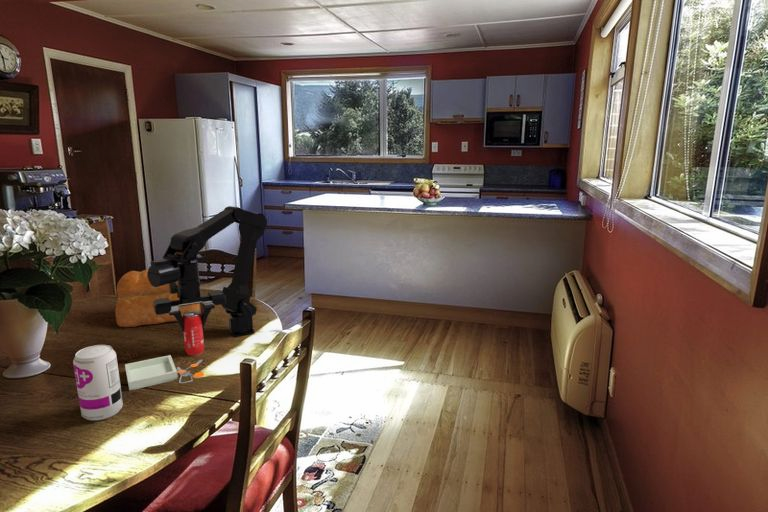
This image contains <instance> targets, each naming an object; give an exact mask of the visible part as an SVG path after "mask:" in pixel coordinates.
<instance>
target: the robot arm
mask: <svg viewBox="0 0 768 512" xmlns="http://www.w3.org/2000/svg"><path fill="white" fill-rule="evenodd" d="M267 219H268V218H266V216H265V214H264V213H262V212H254V211H248V210H245V209H242V208H241V207H239V206H231V205H230V206H227V207H225V208H224V209H222V211H220V212H218V213H217V214H215V215H213V216H212V217H210V218H209V219H207V220H206V221H204V222H202V223H201V224H199V225H197V226H196V227H192V228H190V229H189V228H188V229H185V230H181V231H180V232H177V233H174V234H173V235H172V237H170V242H169V245H168V246H167V248H166V250H165V252H164V254H163V256H162V259H160V260H151V261H150V266H149V267H148V273H147V277H148V280H149V282H150V284H151V285H152V286H154V287H159V286H163V285H166V284H169V289H170V294H176V293H177V297H178V298H179V300H174V301H170V300H169V299H168V298H162V299H155V300H154V302H153V307H154V311H155V313H156V314H157V315H160V314H166V313H169V315H174V316H175V318H176V319H177V321H176V322H177V323H178V325H179V327H180V330H181V331H182V333H183V332H184V324H183V320H182V315H181V312H180V310H179V307H180V306H186V305H193V304H200V314H201V317H202V328H203V329H204V327H205V325H206V322H207V320H208V317H209V315H210V313H211V312H212V311H211V310H212V309H215V308H216V306H220V305H221V306H222V308H223V309H224V310H225V313H226V314H229V316H230V318H229V319H228V329H229V332H230V334H232V335H233V337H235V338H236V337H241V336H246V335H251V334H255V333H256V331H255V330H254V325H253V324H254V323H253V320H254V319H253V317H254V316H256V313H257V310H258V309H257V306H255V305H254V304H253V303H251V302H250V301H251V293H250V289H249V287H248V284H249V281H250V275H251V272H252V271H251V270H252V266H253V261H254V257H255V253H256V246H257V243H258V241H259V239H261V237H262V236H263V235H264V234H265V231H266V228H267V225H268V220H267ZM234 223H237V224H238V232H239V235H240V242H239V247H238V251H237V254H236V256H237V257H236V261H235V265H234V269H233V275H232V278H231V282H230V284H229V285H228V286H227V287H226V286H224V287H223V288H222V290H220V289H217V290H210V291H207V295H202V294H201V284H200V273H199V272H200V271H199V262H200V261H204V260H205V257H204V256H202V255H201V254H200V252H201V250H203V249H204V247H205V246H206V245H207V242H208V241H209V240H210V239H212V238H213V237H215V236H216V235H218V234H219V233H220V232H222V231H223V230H225V229H227V227H229V226H231V225H233V224H234ZM176 281H177V282H178V285H177V283H176ZM174 282H175V283H174Z"/></svg>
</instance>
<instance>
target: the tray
mask: <svg viewBox="0 0 768 512" xmlns="http://www.w3.org/2000/svg"><path fill="white" fill-rule="evenodd" d="M124 367H125V374H126V379H127V384H128V390H129V391H133V390H138V389H142V388H145V387H151V386H156V385H159V384H163V383H169V382H173V381H176V380H179V378H178V377H179V376H178V373H177V372H178V370H177V367H176V365H175V363H174V360H173V358H172V356H171V354H169V355H164V356H159V357H154V358H149V359H144V360H140V361H135V362H129V363H124Z"/></svg>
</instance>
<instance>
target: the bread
mask: <svg viewBox="0 0 768 512" xmlns="http://www.w3.org/2000/svg"><path fill="white" fill-rule="evenodd" d="M148 269H149V268H148ZM148 269H143V270H142V271H136V270H130V271H128V272H126V273H125V274H123V276H121V278H120V279H119V281H118V282H117V286H116V293H117V295H118V297H117V300H116V304H115V320H116V321H115V322H116V324H117V326H118V327H121V328H133V327H134V328H135V327H141V326H143V325H144V326H146V325H149V326H150V325H158V324H163V323H170V322H178V321H177V319H176V318H175V316H174V315H169V313H166V314H160V315H157V314H156V313H155V311H154V307H153V302H154V300H155V299H162V298H168V299H169V300H170V301H174V300H179V298H178V297H177V293H176V294H170V289H169V284H166V285H163V286H159V287H154V286H152V285H151V284H150V282H149V280H148V277H147V273H148ZM174 283H175V282H174ZM176 283H177V285H178V282H177V281H176ZM179 310H180V312H181V315H182V316H183V314H184V313H185V312H188V311H199V312H200V313H201V305H200V303H199V304H193V305H186V306H180V307H179Z"/></svg>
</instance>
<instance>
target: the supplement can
mask: <svg viewBox="0 0 768 512" xmlns="http://www.w3.org/2000/svg"><path fill="white" fill-rule="evenodd" d="M72 365H73V371H74V377H75V383H76V389H77V390H76V391H77V396H78V403H79V408H80V409H79V410H80V414H81V417H82V418H84V419H85V420H87V421H94V422H95V421H102V420H107V419H109V418H111V417H113V416H115V415H116V414H118V413H119V412H120V410H122V408H123V406H124V402H123V395H122V387H121V379H120V373H119V366H118V358H117V352H116V351H115V350H114V349H113V347H112V346H111V345H108V344H96V345H91V346H86V347H84V348H82V349H80V350H78V351H77V352H76V353H75V356H74V358H73V360H72Z"/></svg>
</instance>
